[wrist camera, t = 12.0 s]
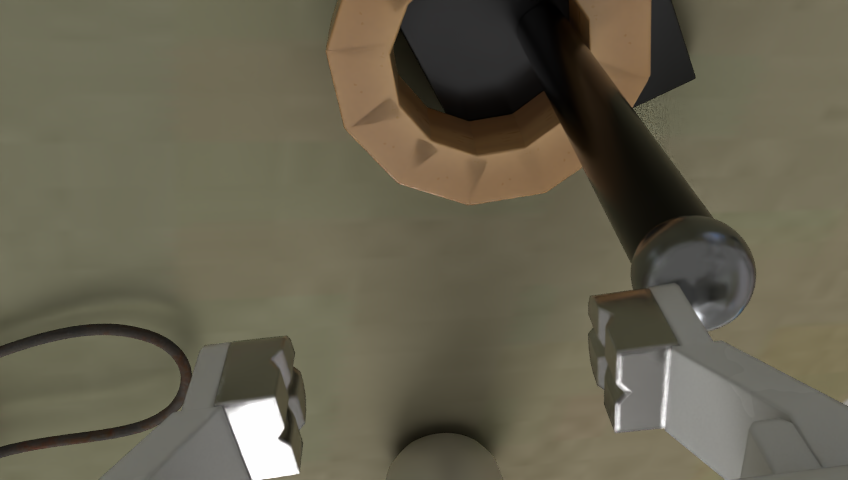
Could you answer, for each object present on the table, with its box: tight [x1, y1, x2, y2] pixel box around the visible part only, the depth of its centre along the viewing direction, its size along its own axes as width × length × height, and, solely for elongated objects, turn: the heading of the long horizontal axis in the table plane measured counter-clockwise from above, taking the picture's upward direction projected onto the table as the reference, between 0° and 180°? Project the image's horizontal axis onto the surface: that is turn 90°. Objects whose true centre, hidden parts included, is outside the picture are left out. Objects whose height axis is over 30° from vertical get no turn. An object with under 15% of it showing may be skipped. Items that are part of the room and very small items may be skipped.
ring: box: [326, 0, 651, 205], centre depth 25 cm, size 11×11×3 cm
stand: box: [400, 0, 756, 332], centre depth 20 cm, size 9×9×17 cm
